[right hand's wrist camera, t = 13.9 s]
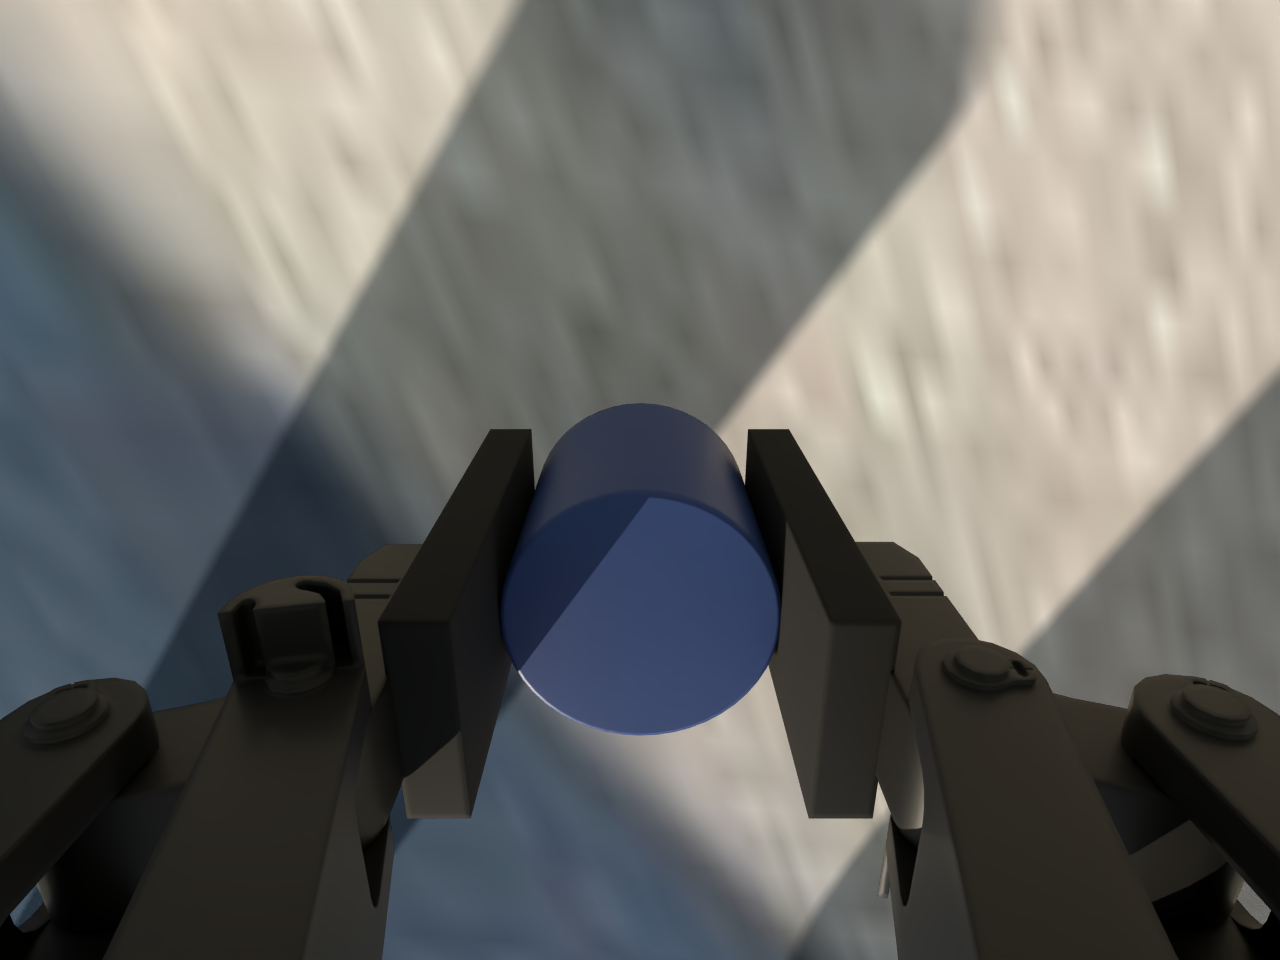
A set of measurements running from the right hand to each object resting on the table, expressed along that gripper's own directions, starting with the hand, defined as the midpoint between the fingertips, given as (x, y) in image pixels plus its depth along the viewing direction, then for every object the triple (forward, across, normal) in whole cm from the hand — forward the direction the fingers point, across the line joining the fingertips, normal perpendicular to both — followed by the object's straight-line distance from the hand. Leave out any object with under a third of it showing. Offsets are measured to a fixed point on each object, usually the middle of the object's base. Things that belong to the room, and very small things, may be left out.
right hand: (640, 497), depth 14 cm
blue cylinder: (0, 0, 0) cm, 0 cm away
